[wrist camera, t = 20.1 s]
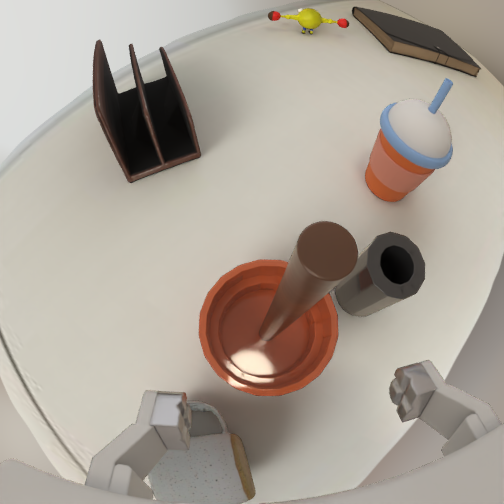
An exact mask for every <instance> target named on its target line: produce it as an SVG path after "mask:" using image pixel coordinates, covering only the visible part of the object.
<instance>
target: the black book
mask: <svg viewBox="0 0 504 504" xmlns="http://www.w3.org/2000/svg"><path fill="white" fill-rule="evenodd" d="M352 14H353V16H354V17H355V18H356V19H357V20H358V21H359V22H361V23H362V24H363V25H364V26H365V27H366V28H367V29H368V30H369V31H370V32H371V33H372V34H373V35H374V36H375V37H376V38H377V39H378V40H379V41H380V42H381V43H382V44H383V45H384V46H385V47H386V49H387V50H388V51H389V52H391V53H396V54H401V55H405V56H410V57H414V58H418V59H422V60H426V61H429V62H433V63H436V64H440V65H443V66H446V67H449V68H453V69H456V70H459V71H461V72H464V73H467V74H470V75H473V76H475V77H476V76H477V74H478V72H479V70H480V69H481V68H480V67H479V66H478V65H477V64H476V63H475V62H474V61H473V59H472V58H471V57H470V56H469V55H468V54H467V53H466V52H465V51H464V50H463V49H462V48H461V47H459V46H458V45H457V44H456V43H455V42H454V41H453V40H451V38H449V37H448V36H447V35H446V34H445V33H444V32H443V31H441V30H439V29H436V28H433V27H430V26H428V25H425V24H422V23H418V22H415V21H412V20H409V19H405V18H402V17H398V16H395V15H391V14H387V13H383V12H378V11H374V10H369V9H365V8H359V7H353V9H352Z"/></svg>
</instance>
